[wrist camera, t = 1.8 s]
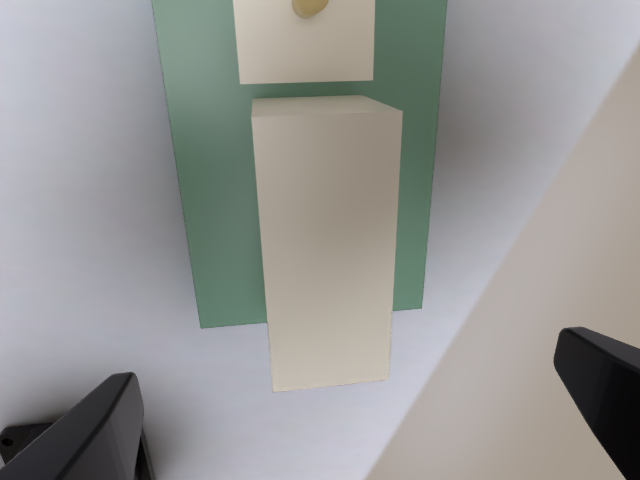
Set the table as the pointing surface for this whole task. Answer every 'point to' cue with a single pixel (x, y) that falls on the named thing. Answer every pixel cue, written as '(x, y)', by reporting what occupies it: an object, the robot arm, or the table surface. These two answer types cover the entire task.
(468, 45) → the table surface
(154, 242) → the table surface
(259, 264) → the board
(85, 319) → the table surface
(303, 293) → the block
